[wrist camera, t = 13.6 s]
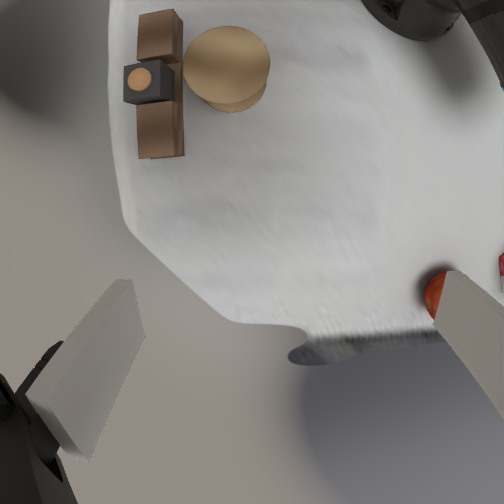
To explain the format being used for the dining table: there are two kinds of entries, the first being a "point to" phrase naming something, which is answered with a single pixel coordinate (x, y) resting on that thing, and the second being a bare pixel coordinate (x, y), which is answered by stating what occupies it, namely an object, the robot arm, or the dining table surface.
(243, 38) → the wooden spool
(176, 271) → the dining table surface
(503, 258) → the ink box
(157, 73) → the dark grey rectangular block
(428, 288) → the apple
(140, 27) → the brown wooden u-shaped block
